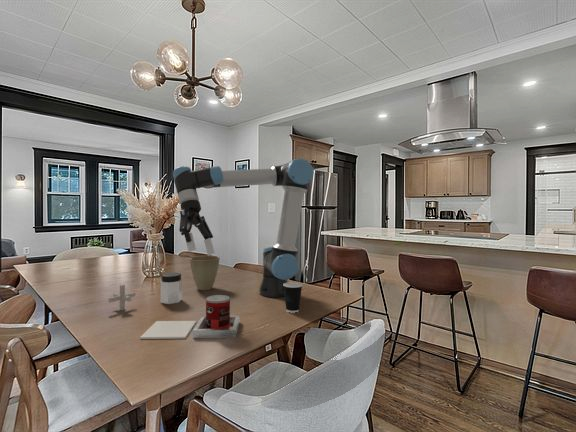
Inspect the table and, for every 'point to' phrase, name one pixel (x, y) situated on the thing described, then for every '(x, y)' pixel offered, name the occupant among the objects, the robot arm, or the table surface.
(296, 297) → the dixie cup
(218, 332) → the square frame
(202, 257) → the plant pot
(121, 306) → the light grey toy jack
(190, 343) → the table surface
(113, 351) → the table surface
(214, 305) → the canned food
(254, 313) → the table surface
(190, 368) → the table surface
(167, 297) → the jar
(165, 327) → the tile
